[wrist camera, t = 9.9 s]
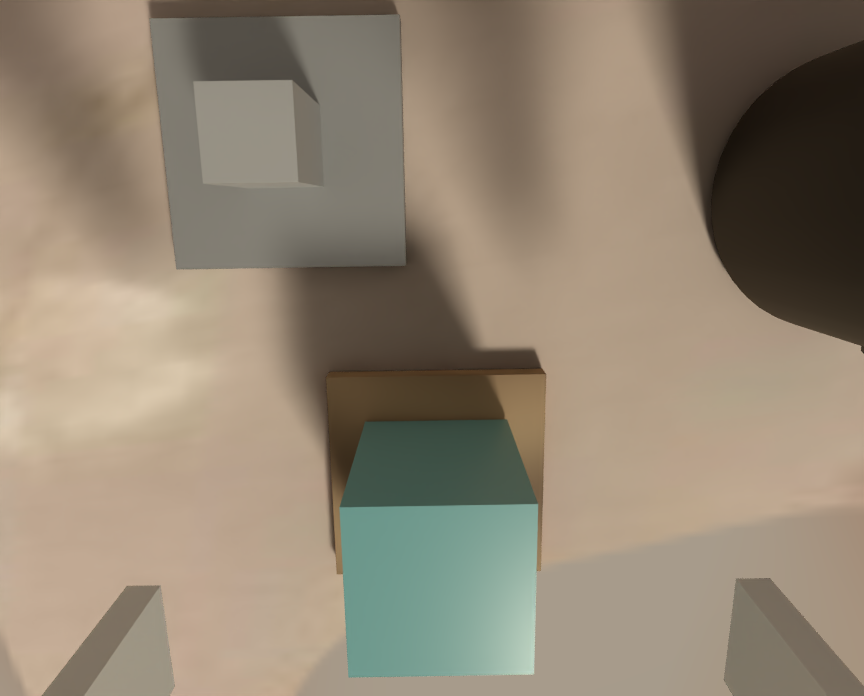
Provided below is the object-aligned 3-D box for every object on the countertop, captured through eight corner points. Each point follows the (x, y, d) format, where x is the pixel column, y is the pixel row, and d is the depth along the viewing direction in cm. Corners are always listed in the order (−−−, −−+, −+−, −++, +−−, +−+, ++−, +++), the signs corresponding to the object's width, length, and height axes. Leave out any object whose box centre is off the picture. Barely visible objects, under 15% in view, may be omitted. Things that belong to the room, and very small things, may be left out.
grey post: (160, 25, 20) (75, -31, 16) (400, 21, 20) (391, -37, 16) (185, 267, 22) (116, 284, 17) (406, 263, 22) (400, 279, 17)
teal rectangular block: (365, 421, 23) (339, 507, 16) (507, 419, 23) (538, 504, 16) (370, 549, 24) (348, 677, 17) (505, 547, 24) (533, 674, 17)
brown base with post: (329, 371, 23) (287, 440, 16) (542, 368, 23) (589, 435, 16) (339, 562, 25) (305, 696, 18) (537, 559, 25) (577, 692, 18)
